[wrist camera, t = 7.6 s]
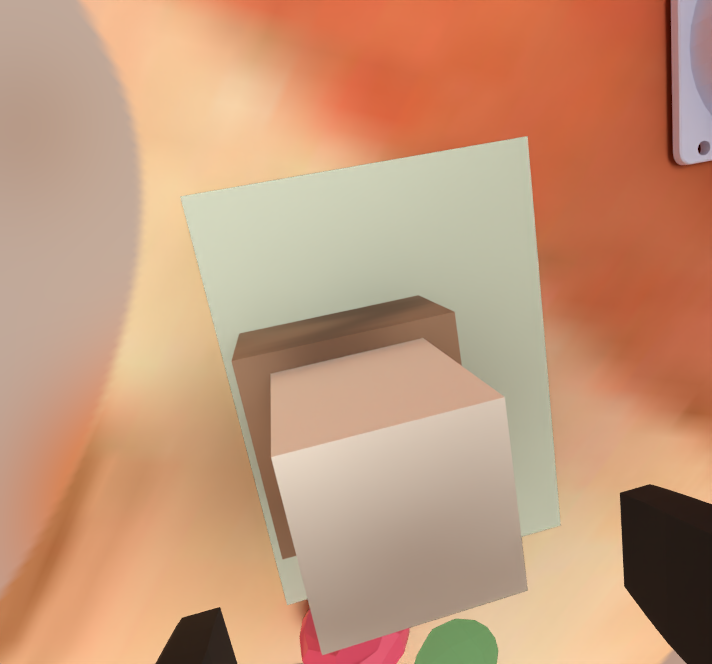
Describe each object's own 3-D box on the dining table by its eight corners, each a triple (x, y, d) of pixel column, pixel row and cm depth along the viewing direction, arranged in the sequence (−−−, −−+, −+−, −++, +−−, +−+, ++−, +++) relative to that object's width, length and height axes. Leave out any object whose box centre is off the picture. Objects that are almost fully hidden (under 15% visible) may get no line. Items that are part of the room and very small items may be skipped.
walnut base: (418, 295, 17) (454, 312, 14) (442, 454, 19) (480, 504, 15) (239, 333, 16) (231, 361, 13) (280, 497, 18) (282, 559, 15)
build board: (520, 138, 17) (527, 136, 17) (553, 518, 21) (560, 525, 21) (183, 197, 16) (180, 196, 15) (286, 595, 19) (287, 605, 19)
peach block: (422, 338, 14) (504, 397, 9) (444, 473, 15) (527, 590, 10) (270, 373, 13) (270, 457, 8) (304, 512, 14) (322, 654, 10)
